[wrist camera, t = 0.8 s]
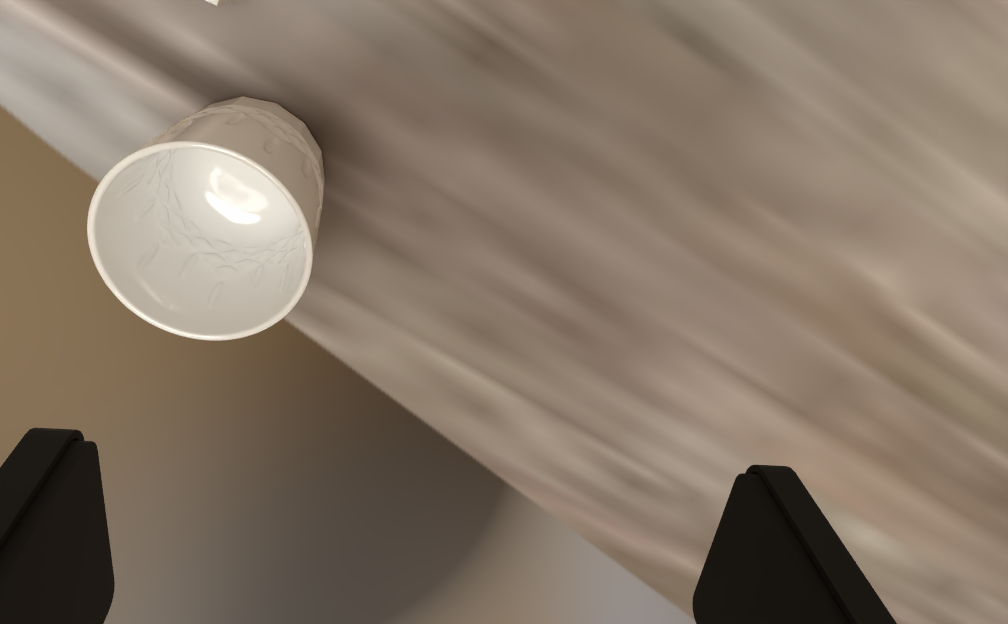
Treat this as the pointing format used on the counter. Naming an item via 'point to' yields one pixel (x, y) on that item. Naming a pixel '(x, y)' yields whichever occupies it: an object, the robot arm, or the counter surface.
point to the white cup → (212, 221)
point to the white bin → (216, 2)
